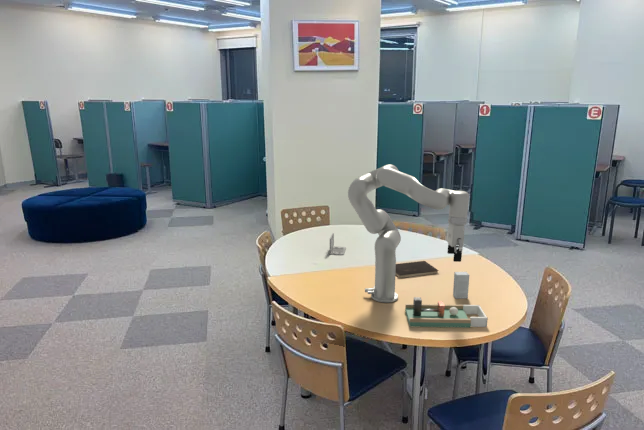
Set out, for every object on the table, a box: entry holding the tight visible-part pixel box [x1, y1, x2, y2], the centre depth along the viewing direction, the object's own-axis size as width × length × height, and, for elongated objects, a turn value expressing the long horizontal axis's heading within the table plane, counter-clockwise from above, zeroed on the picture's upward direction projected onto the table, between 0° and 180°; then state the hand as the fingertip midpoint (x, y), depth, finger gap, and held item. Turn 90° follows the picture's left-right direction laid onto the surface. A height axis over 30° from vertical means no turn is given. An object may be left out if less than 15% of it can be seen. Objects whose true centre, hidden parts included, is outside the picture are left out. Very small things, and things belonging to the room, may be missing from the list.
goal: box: [462, 304, 489, 328], centre depth 198 cm, size 7×12×4 cm, turn 178°
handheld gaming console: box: [328, 232, 347, 256], centre depth 283 cm, size 13×9×10 cm
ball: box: [449, 307, 458, 316], centre depth 198 cm, size 4×4×4 cm
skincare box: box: [452, 271, 470, 299], centre depth 219 cm, size 6×4×12 cm
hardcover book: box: [395, 260, 439, 279], centre depth 253 cm, size 16×23×2 cm
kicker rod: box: [412, 296, 445, 317], centre depth 198 cm, size 12×4×7 cm, turn 87°
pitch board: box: [404, 303, 472, 329], centre depth 199 cm, size 25×14×4 cm, turn 87°
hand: (454, 257), depth 203 cm, fingers open, 9 cm apart
